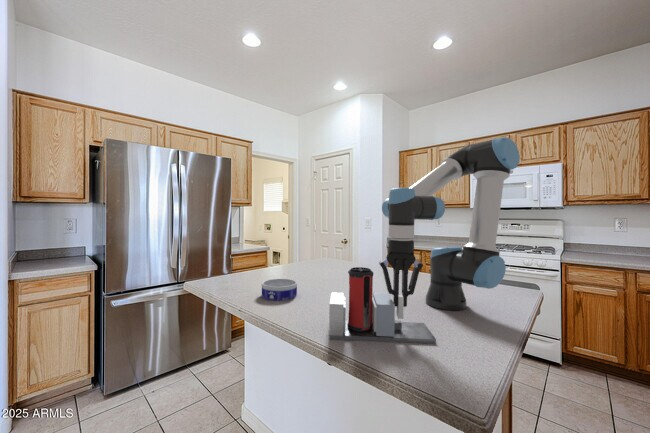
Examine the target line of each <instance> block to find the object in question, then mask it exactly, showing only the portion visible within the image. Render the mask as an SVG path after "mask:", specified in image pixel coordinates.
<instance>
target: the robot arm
mask: <svg viewBox="0 0 650 433" xmlns="http://www.w3.org/2000/svg"><path fill="white" fill-rule="evenodd" d="M520 160H521V159H520V150H519V148H518V146H517V144H516V143H515V141H514V140H513V139H511V138H510V137H505V136H504V137H499V138H498V137H497V138H492V139H489V140H486V141H480V142H476V143H471V144H468V145H466V146H465V145H464V146H463V147H461V148H459V149H458V150H456V151H454V152H452V153H451V154H449V155H448V156H447V157H446V158H444V159H443V160H442V161H441V162H440V164H439V166H437V167H436V168H435V169H433V170H432V171H430V172H429V173H428V174H426V175H425V176H423V177H422V178H421V179H419V180H418V181H417V182H415V183H414V184H412V185H411V186H409V187H394V188H391V189H390V190H389V194H388V198H386V199H385V200H384V201H383V202H382V204H381V211H382V214H383V215H384V217H385V218H388V236H387V237H388V238H390V239H388V241H387V248H388V250H387V255H386V257H385V259H384V260H380V261H379V262H378V263H379V266H380V267H381V269H382V273H383V277H384V281H385V286H386V290H387V293H389V295H392V296H393V299H392V301H393V303H394V304H395V308H396V317H397V319H399V320H402V319H404V308H407V307H408V306H407V305H408V297H409V296H410V295H411V296H412V295H414V293H415V289H416V286H417V282H418V279H419V274H420V271H421V270H422V268H423V266H424V264H423V263H422V262H420V261H418V260H417V259H416V256H415V241H414V240H413V239H414V238H415V220H421V221H422V220H423V221H424V220H425V221H427V220H429V221H433V220H439V219H441V218H442V217H443V216H444V214H445V212H446V204H445V202H444V200H443V199H442V198H441V197H439V196H434V195H435V194H436V193H438V192H439V191H440V190H441V189H443V188H444V187H445V186H447V185H448V184H450V183H451V182H452V181H457V180H459V179H460V178H462V177H464V176H467V175H472V176H473V177H474V178H475V179H476V186H475V192H474V199H473V200H474V201H473V208H472V214H471V223H470V228H469V229H470V230H469V236H468V242H467V243H466V244H464V245H463V247H461V246H448V247H444V246H442V247H434V248H432V249H431V251H430V257H429V259H430V284H429V286H428V289H427V292H426V294H425V304H426V305H428V306H430V307H432V308H436V309H438V310H439V309H440V310H447V311H462V310H465V309H467V298H466V296H465V293H464V289H463V284H466V285H470V286H475V287H477V288H483V289H489V290H490V289H494V288H496V287H498V285H500V283H501V282H502V281H503V279H504V277H505V275H506V268H507V267H506V264H505V263H506V262H505V260H504V258H503V257H501V256H500V250H499V248H497V246H496V244H497V237H498V228H499V221H500V220H499V219H500V214H501V205H502V199H503V189H504V184H505V180H507V179H508V178H510V175H511V170H512V171H513V170H515V169H516V168H518V166H519V163H520ZM389 265H390V266H391V268H392V270H393V282H392V283H393V285H392V283H391V278H390V275H389V270H388V267H389ZM412 266H413V270H412V272H411V273H412V274H411V277H410V281H409V284H408V280H409V277H408V276H409V270H410V268H411V267H412ZM400 271H401V294H400ZM392 287H393V288H392Z"/></svg>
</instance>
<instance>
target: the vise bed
mask: <svg viewBox="0 0 650 433" xmlns="http://www.w3.org/2000/svg"><path fill="white" fill-rule="evenodd" d="M348 321H349V319H345V332H344V331H343V336H339V335H328V337H329V338H328V340H337V341H365V342H366V341H367V342H384V343H385V342H389V343H391V342H392V343H410V344H411V343H413V344H437V338H436V337H435V336H434V335H433V333H432V331H431V330H430V329H429V327H428V326H427V324H425V322H412V321H411V322H410V321H409V322H408V321H401V323H402V330H394V337H391V336H376V332H374V329H373V327H372V329H371V330H368V331H366V332H363V331H358V332H356V331H353V330H352V329H350V328H349V327H348V326H347V324H348Z"/></svg>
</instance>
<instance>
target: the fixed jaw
mask: <svg viewBox="0 0 650 433" xmlns="http://www.w3.org/2000/svg"><path fill="white" fill-rule="evenodd" d="M346 304H347V303H346V296H345V295H344V292H335V291H334V292H331V293H330V299H329V307H328V308H329V312H328V314H329V315H328V316H329V322H328V323H329V324H328V326H329V329H328V334H329V335H339V336H343V331H344V332H345V320H346V310H347V309H346ZM329 335H328V336H329Z"/></svg>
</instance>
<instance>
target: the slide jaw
mask: <svg viewBox="0 0 650 433" xmlns="http://www.w3.org/2000/svg"><path fill="white" fill-rule="evenodd" d="M390 295H391V294H389V292H372V324H373V329H374V332H376V336H391V337H394V330H402V323H401V322H402V321H401V320H397V319H396V320H395V318H396V317H395V316H396V315H395V314H396V313H395V311H396V309H395V308H396V307H395V304H394V303H393V299H392V297H391V296H390Z"/></svg>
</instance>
